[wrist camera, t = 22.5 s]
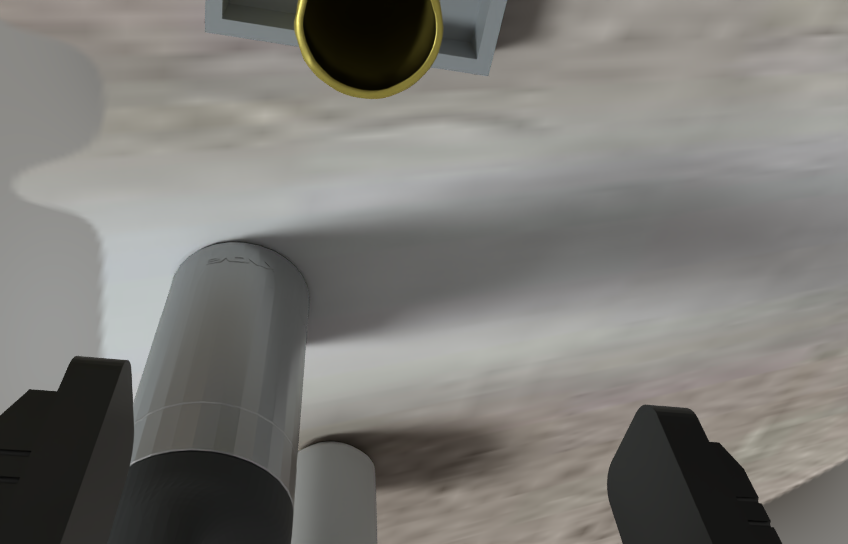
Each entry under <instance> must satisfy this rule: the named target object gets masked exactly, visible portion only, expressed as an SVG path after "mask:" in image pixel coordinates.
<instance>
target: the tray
mask: <svg viewBox="0 0 848 544" xmlns="http://www.w3.org/2000/svg"><path fill="white" fill-rule="evenodd" d="M297 3H298V0H206V3H205V32H207V33H214V34H220V35H226V36H233V37H239V38H246V39H252V40H259V41H265V42H271V43H278V44H284V45H291V46H297V47H299V44H298V41H297V38H296V35H295V32H294V19H295V15H296V10H297ZM506 3H507V0H440V4H441V11H442V18H443V27H444V28H443V38H442V43H441V46H440V50H439V52H438V55H437V58H436V59H435V61H434V63H433V65H432V66H431V67H432V68H439V69H445V70H451V71H458V72H464V73H471V74H477V75H483V76H488V75H489V71H490V67H491V63H492V59H493V55H494V51H495V47H496V43H497V39H498V35H499V31H500V27H501V23H502V19H503V15H504V11H505V7H506Z"/></svg>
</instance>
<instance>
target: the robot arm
mask: <svg viewBox="0 0 848 544" xmlns="http://www.w3.org/2000/svg"><path fill="white" fill-rule="evenodd" d="M308 313H309V293H308V288H307V285H306V283H305V280H304V278H303V276H302V275H301V274H300V272H299V271H298V269H297V268H296V267H295V266H294V265H293V264H292V263H291V262H289V261H288V260H287V259H286V258H284V257H283V256H281V255H279V254H278V253H276V252H274V251H272V250H270V249H267V248H264V247H262V246H259V245H254V244H249V243H237V242H228V243H221V244H215V245H212V246H209V247H206V248H203V249H201V250H199V251H197V252H196V253H194V254H192V255H191V256H189V257H188V258H187V259H186V260H185V261H184V262H183V263H182V264H181V265H180V267H179V268H178V270H177V272H176V273H175V275H174V278H173V281H172V284H171V287H170V290H169V294H168V297H167V300H166V303H165V306H164V309H163V312H162V315H161V318H160V321H159V324H158V327H157V330H156V333H155V336H154V340H153V343H152V346H151V349H150V352H149V355H148V358H147V362H146V365H145V368H144V371H143V374H142V377H141V381H140V384H139V387H138V390H137V393H136V396H135V399H134V403H133V394H132V374H131V364H130V362H129V360H118V359H106V358H94V357H81V356H75V357H74V358H73V359H72V360H71V362H70V364H69V366H68V368H67V370H66V373H65V375H64V378H63V380H62V382H61V384H60V387H59V389H58V391H57V392H56V391H44V390H31V389H29V390H28V391H27V392H26V393H25V394H24V395H23V396H22V397H21V398H19V399H18V400H17V401H16V402H15V403H14V404H13V405H12V406H10V407H9V408H8V409H7V410H6V411H5V412H4V413H3V414H2V415H0V544H291V539H292V528H293V514H294V501H295V487H296V474H297V457H298V443H299V430H300V417H301V403H302V390H303V377H304V363H305V350H306V339H307V326H308ZM607 490H608V498H609V502H610V505H611V508H612V512H613V515H614V518H615V521H616V524H617V527H618V530H619V533H620V536H621V539H622V542H623V544H782V542H781V540H780V538H779V537H778V535H777V533H776V531H775V529H774V528H773V527H771V526H770V519H769V517H768V515H767V513H766V511H765V509H764V507H763V505H762V504H761V503H758V496H757V494H756V492H755V490H754V488H753V486H752V484H751V482H750V480H749V478H748V476H747V474H746V472H745V470H744V469H743V468H742V466H741V465H740V464H739V463H738V462H737V461H736V460H735V459H734V458H733V457H732V456H731V455H730V454H729V453H728V452H727V450H726V449H725V448H724V447H723V446H722V445H721V444H720V443H717V442H709V440H708V438H707V436H706V434H705V432H704V430H703V428H702V426H701V424H700V422H699V420H698V418H697V416H696V414H695V413H694V412H693V411H692V410H691V409H688V408H680V407H668V406H655V405H643V406H641V407H640V408H639V409H638V411H637V412H636V414H635V416H634V418H633V420H632V422H631V424H630V426H629V428H628V430H627V432H626V434H625V436H624V438H623V440H622V442H621V444H620V446H619V448H618V450H617V452H616V454H615V456H614V458H613V460H612V462H611V464H610V467H609V472H608V479H607Z"/></svg>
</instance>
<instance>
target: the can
mask: <svg viewBox="0 0 848 544" xmlns="http://www.w3.org/2000/svg"><path fill="white" fill-rule="evenodd" d="M291 544H377V511H376V475H375V467H374V464H373V462H372V461H371V459H370V458H369V456H367V455H366V454H364V453H363V452H362V451H360V450H359V449H356V448H354V447H353V446H351V445H348V444H345V443H341V442H333V441H329V442H319V443H316V444H313V445H310V446H308V447H307V448H304V449H302V450H300V451H299V452H298V457H297V474H296V487H295V501H294V514H293V528H292V539H291Z"/></svg>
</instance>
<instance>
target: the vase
mask: <svg viewBox="0 0 848 544" xmlns="http://www.w3.org/2000/svg"><path fill="white" fill-rule="evenodd" d="M443 28H444V27H443V18H442V11H441V4H440V0H298V3H297V10H296V15H295V19H294V32H295V35H296V38H297V41H298V44H299V47H300V50H301V53H302V56H303V59H304V61H305V62H306V64H307V65H308V66H309V68H310V69H311V70H312V71H313V73H314V74H315V75H316V76H317V77H318V78H319V79H321V80H322V81H323V82H325V83H326V84H327V85H329V86H330V87H332V88H334V89H335V90H337V91H339V92H341V93H343V94H346V95H349V96H353V97H358V98H366V99H380V98H386V97H389V96H392V95H395V94H397V93H400V92H402V91H404V90H406V89H408V88H409V87H411V86H412V85H414V84H415V83H416V82H417V81H418V80H419V79H420V78H421V77H422V76H423V75H424V74H425V73H426V72H427V71H428V70H429V69H430V67H431V66H432V65H433V63H434V61H435V59H436V58H437V55H438V52H439V50H440V46H441V43H442V38H443Z"/></svg>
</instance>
